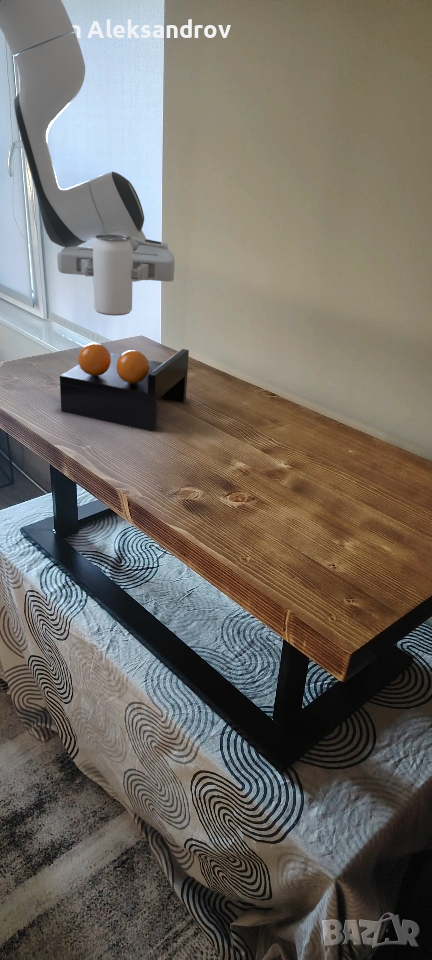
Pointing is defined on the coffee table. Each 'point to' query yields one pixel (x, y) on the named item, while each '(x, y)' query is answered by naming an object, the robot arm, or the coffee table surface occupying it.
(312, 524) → the coffee table surface
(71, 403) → the rack
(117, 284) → the can
